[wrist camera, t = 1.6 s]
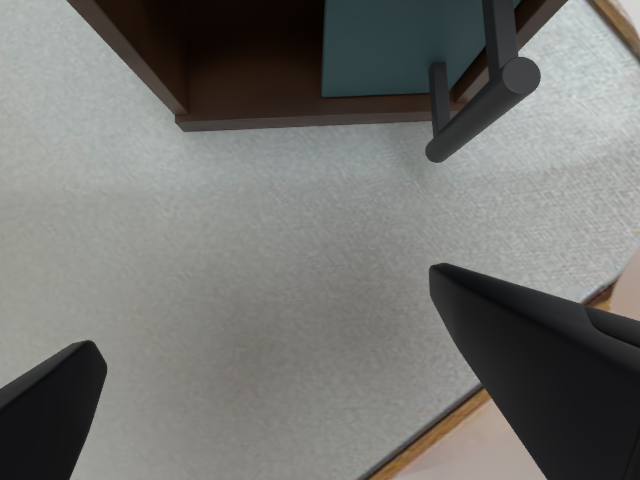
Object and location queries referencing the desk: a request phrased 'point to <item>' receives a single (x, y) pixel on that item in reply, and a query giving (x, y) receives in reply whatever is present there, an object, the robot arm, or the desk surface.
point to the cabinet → (260, 61)
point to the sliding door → (427, 58)
